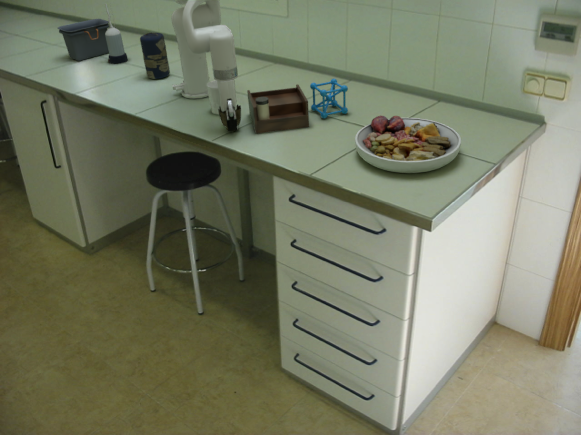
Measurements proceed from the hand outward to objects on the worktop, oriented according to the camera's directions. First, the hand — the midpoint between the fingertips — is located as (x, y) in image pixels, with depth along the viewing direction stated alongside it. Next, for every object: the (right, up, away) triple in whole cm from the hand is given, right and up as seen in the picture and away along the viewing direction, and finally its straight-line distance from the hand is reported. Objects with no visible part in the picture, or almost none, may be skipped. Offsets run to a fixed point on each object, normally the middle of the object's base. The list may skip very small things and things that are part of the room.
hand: (231, 125), depth 194 cm
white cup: (-5, +7, +16) cm, 18 cm away
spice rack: (+15, +2, +5) cm, 16 cm away
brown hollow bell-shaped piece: (0, -2, +1) cm, 2 cm away
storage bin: (-73, +45, +82) cm, 119 cm away
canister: (-35, +28, +52) cm, 68 cm away
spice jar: (+11, +2, -1) cm, 11 cm away
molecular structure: (+33, +6, +9) cm, 34 cm away
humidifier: (-58, +40, +73) cm, 101 cm away
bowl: (+53, -12, -20) cm, 58 cm away
